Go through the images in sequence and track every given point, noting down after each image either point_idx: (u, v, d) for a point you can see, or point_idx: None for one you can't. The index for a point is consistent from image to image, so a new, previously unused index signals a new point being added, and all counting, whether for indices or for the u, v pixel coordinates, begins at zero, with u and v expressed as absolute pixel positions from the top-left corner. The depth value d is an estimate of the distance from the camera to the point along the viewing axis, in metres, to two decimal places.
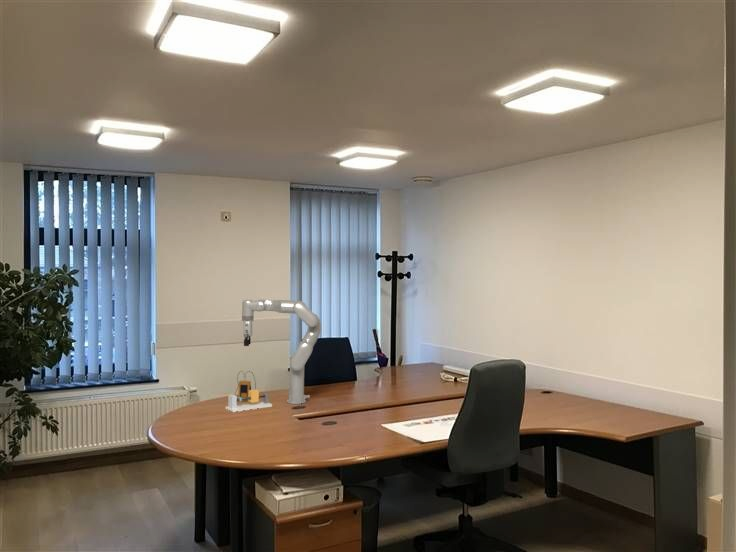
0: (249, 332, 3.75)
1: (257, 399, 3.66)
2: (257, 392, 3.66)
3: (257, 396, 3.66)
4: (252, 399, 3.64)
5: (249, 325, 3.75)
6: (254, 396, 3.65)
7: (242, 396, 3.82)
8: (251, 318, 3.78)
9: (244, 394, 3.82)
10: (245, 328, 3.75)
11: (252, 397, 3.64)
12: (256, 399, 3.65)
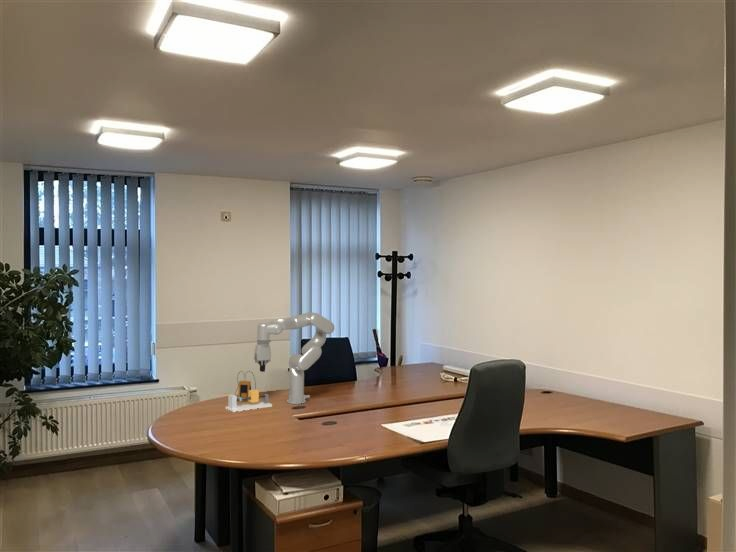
0: None
1: (257, 399, 3.66)
2: (257, 392, 3.66)
3: (257, 396, 3.66)
4: (252, 399, 3.64)
5: None
6: (254, 396, 3.65)
7: (242, 396, 3.82)
8: None
9: (244, 394, 3.82)
10: None
11: (252, 397, 3.64)
12: (256, 399, 3.65)
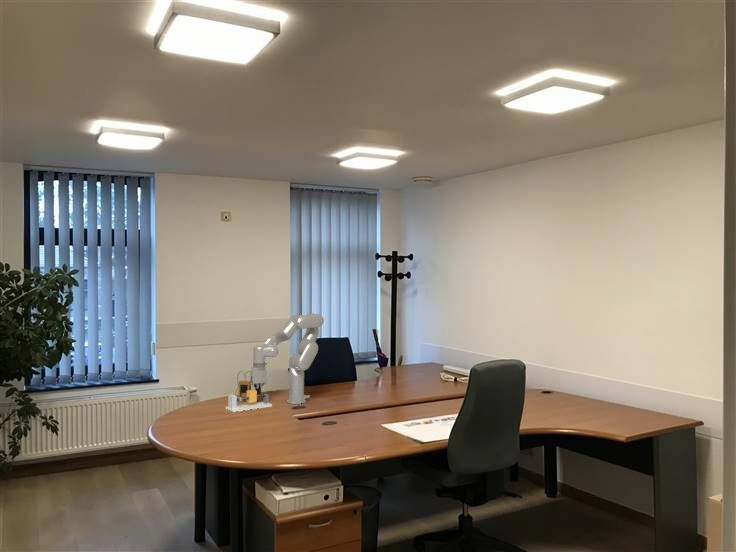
0: None
1: (255, 399, 3.65)
2: (255, 392, 3.65)
3: (255, 396, 3.65)
4: (250, 399, 3.63)
5: None
6: (252, 396, 3.64)
7: (242, 396, 3.82)
8: None
9: (244, 394, 3.82)
10: None
11: (250, 397, 3.63)
12: (254, 399, 3.65)
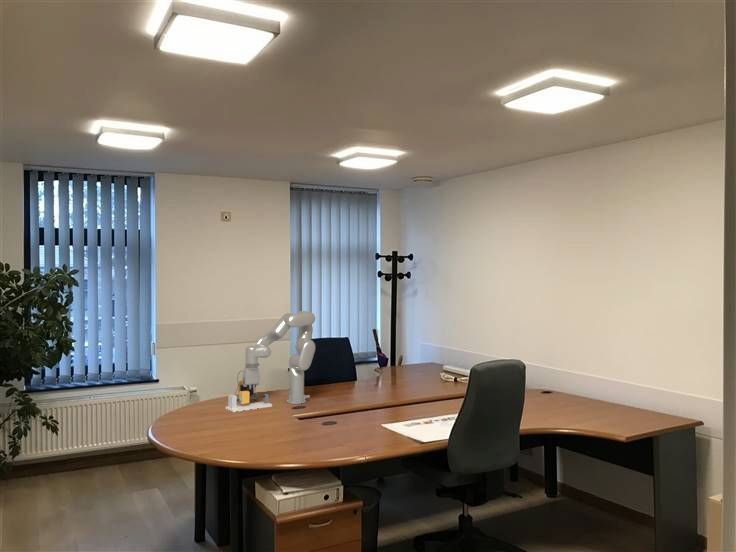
0: None
1: (248, 400, 3.62)
2: (248, 393, 3.62)
3: (248, 397, 3.62)
4: (243, 400, 3.59)
5: None
6: (245, 397, 3.61)
7: None
8: None
9: None
10: None
11: (243, 398, 3.59)
12: (247, 400, 3.61)
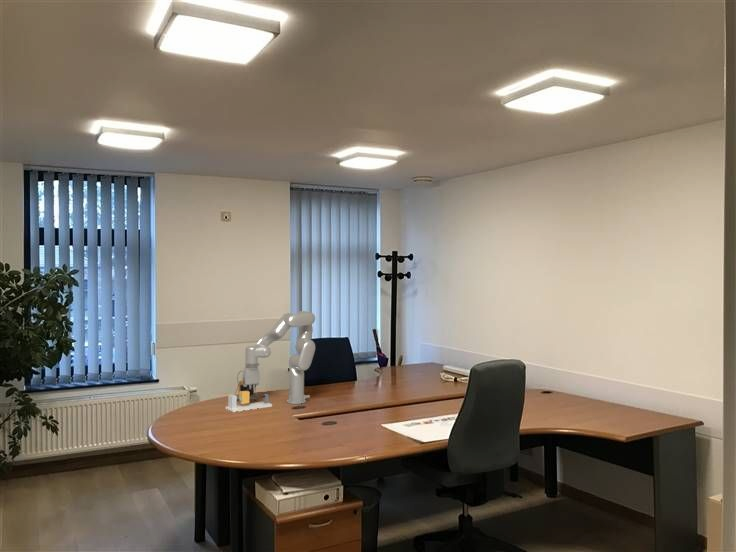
0: None
1: (248, 400, 3.62)
2: (248, 393, 3.62)
3: (248, 397, 3.62)
4: (243, 400, 3.59)
5: None
6: (245, 397, 3.61)
7: None
8: None
9: None
10: None
11: (243, 398, 3.59)
12: (247, 400, 3.61)
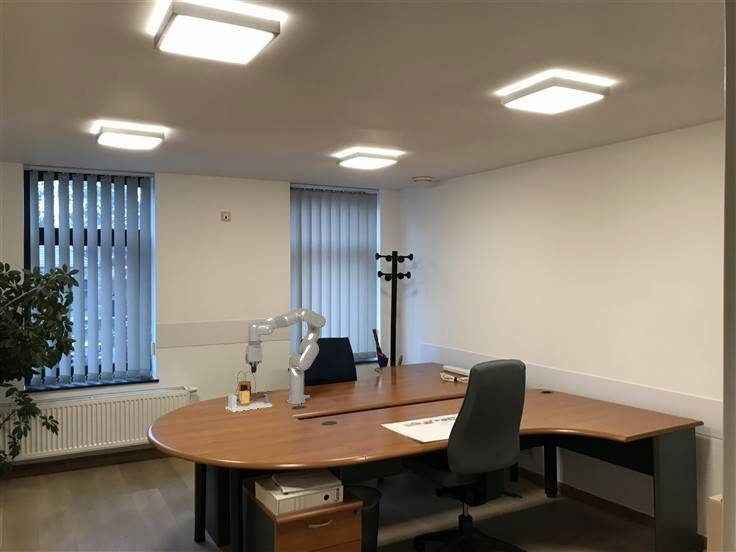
0: None
1: (248, 400, 3.62)
2: (248, 393, 3.62)
3: (248, 397, 3.62)
4: (243, 400, 3.59)
5: None
6: (245, 397, 3.61)
7: None
8: None
9: None
10: None
11: (243, 398, 3.59)
12: (247, 400, 3.61)
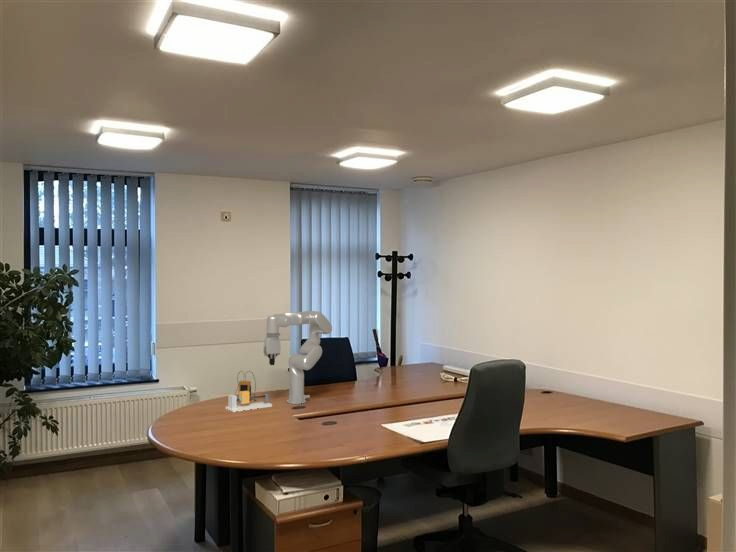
0: None
1: (248, 400, 3.62)
2: (248, 393, 3.62)
3: (248, 397, 3.62)
4: (243, 400, 3.59)
5: None
6: (245, 397, 3.61)
7: None
8: None
9: None
10: None
11: (243, 398, 3.59)
12: (247, 400, 3.61)
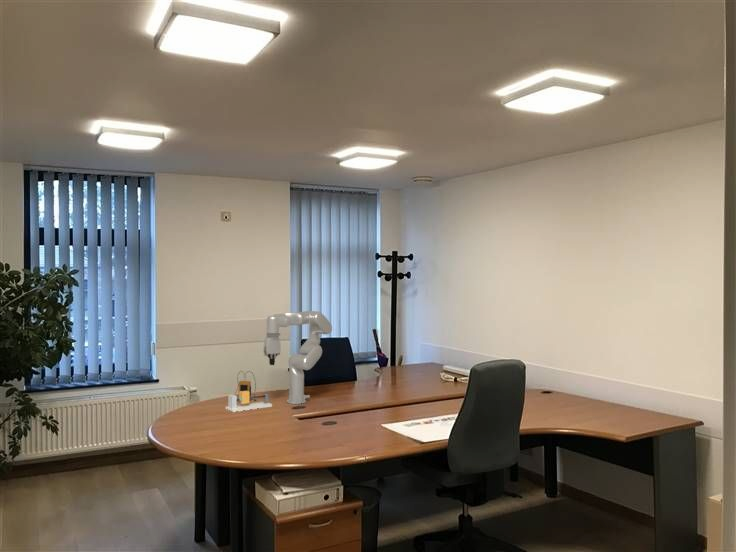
0: None
1: (248, 400, 3.62)
2: (248, 393, 3.62)
3: (248, 397, 3.62)
4: (243, 400, 3.59)
5: None
6: (245, 397, 3.61)
7: None
8: None
9: None
10: None
11: (243, 398, 3.59)
12: (247, 400, 3.61)
